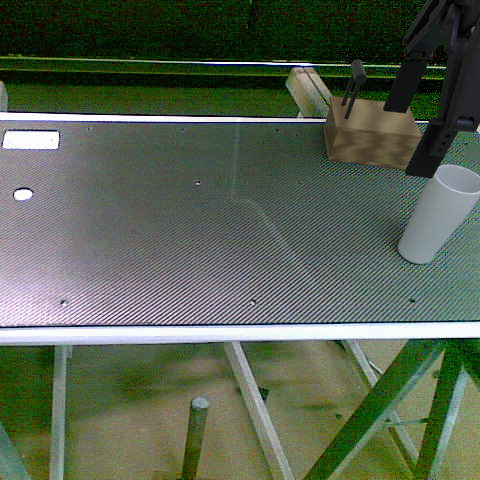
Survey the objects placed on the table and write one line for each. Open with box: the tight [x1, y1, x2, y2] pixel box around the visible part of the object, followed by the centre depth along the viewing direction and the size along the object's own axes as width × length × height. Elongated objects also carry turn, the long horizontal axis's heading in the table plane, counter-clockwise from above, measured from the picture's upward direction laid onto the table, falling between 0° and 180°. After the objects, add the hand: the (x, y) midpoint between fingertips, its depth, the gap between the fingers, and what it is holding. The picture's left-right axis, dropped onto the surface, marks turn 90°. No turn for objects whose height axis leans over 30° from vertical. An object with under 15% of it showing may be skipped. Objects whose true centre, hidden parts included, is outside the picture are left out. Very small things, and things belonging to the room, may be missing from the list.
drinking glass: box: [397, 164, 480, 265], centre depth 70 cm, size 7×7×15 cm
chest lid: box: [328, 58, 422, 140], centre depth 88 cm, size 15×12×10 cm
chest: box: [322, 105, 421, 170], centre depth 94 cm, size 15×12×7 cm
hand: (405, 140), depth 56 cm, fingers open, 13 cm apart
